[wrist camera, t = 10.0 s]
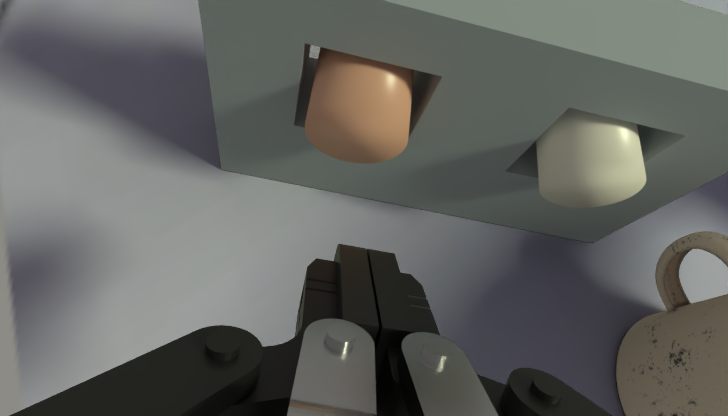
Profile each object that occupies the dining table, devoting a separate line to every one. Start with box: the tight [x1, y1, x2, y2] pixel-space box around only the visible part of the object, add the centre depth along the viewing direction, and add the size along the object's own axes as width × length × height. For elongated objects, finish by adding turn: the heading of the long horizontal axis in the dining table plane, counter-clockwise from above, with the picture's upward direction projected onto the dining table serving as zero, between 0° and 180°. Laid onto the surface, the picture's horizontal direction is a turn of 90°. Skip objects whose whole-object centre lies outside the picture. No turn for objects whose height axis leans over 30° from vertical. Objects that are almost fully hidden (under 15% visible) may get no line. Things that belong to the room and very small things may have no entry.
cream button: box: [536, 107, 646, 208], centre depth 21 cm, size 7×4×4 cm, turn 173°
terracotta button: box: [305, 47, 414, 164], centre depth 19 cm, size 7×4×4 cm, turn 173°
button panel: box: [198, 0, 728, 243], centre depth 21 cm, size 4×22×13 cm, turn 83°
